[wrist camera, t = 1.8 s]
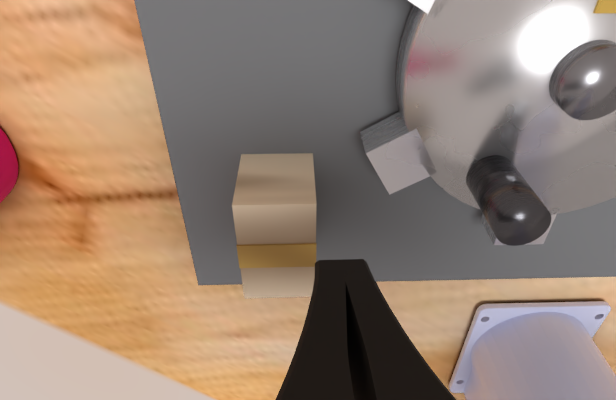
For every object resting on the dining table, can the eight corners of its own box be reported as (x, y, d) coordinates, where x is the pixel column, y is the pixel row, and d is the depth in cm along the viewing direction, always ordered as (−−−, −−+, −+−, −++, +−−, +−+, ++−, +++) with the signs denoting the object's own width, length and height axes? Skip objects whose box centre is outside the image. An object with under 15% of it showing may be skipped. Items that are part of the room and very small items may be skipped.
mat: (631, 262, 24) (642, 275, 23) (201, 271, 24) (198, 285, 23) (955, -244, 12) (1003, -253, 11) (90, -251, 11) (75, -260, 11)
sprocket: (651, 217, 20) (732, 294, 17) (352, 222, 20) (366, 302, 16) (948, -256, 11) (1290, -325, 7) (392, -261, 11) (446, -336, 7)
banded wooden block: (312, 241, 21) (315, 298, 18) (250, 242, 21) (243, 299, 18) (313, 153, 18) (317, 205, 15) (240, 154, 18) (231, 206, 15)
